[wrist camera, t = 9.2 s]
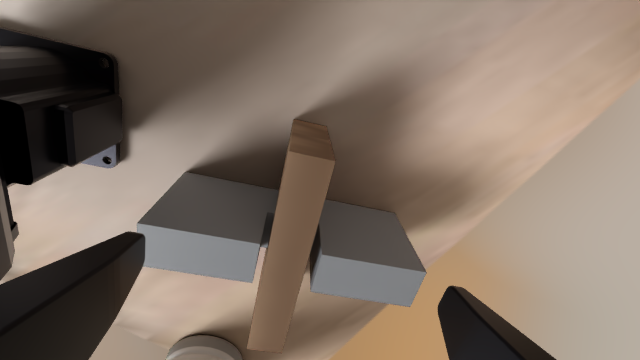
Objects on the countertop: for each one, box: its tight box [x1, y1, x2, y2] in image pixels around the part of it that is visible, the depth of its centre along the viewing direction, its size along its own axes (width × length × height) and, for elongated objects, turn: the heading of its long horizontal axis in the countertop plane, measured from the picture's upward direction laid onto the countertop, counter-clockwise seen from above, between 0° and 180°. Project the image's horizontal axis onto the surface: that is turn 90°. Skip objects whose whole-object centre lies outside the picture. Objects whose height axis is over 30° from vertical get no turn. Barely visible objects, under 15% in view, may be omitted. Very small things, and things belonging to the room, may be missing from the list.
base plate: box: [137, 172, 426, 307], centre depth 18 cm, size 14×2×6 cm, turn 76°
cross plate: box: [247, 119, 336, 353], centre depth 18 cm, size 2×12×6 cm, turn 167°
